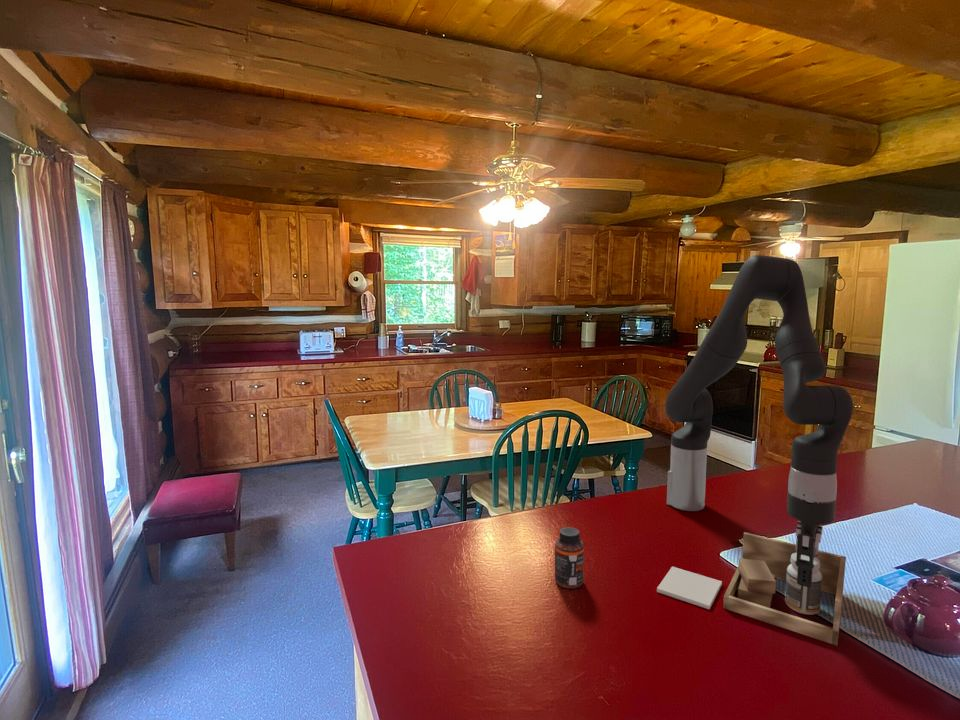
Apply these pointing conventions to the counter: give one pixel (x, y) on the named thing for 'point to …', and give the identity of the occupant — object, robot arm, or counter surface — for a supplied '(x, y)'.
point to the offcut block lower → (754, 595)
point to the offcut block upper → (756, 576)
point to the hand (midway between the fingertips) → (806, 574)
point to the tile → (690, 587)
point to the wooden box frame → (778, 562)
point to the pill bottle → (803, 588)
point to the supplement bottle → (569, 559)
